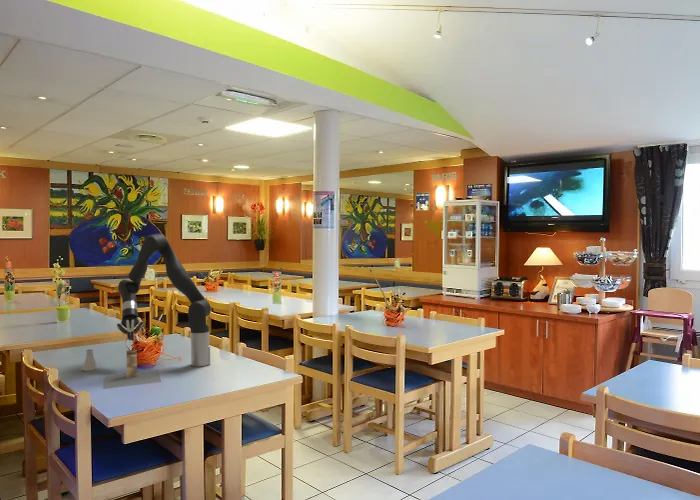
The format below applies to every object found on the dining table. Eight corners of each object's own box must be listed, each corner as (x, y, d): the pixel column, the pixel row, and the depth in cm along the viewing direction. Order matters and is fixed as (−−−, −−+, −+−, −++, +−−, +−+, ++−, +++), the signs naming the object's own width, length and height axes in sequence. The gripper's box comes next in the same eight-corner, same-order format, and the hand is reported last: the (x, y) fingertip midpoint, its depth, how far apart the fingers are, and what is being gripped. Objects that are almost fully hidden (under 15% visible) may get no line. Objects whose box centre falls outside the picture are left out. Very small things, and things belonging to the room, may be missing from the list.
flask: (91, 372, 254) (90, 352, 253) (78, 371, 255) (78, 351, 255) (101, 368, 261) (100, 348, 260) (88, 367, 262) (88, 348, 262)
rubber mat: (157, 370, 255) (157, 369, 255) (161, 382, 235) (161, 381, 235) (104, 376, 245) (104, 375, 245) (103, 389, 225) (103, 388, 225)
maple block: (136, 374, 248) (136, 349, 247) (137, 376, 244) (136, 351, 243) (126, 375, 246) (126, 350, 245) (127, 377, 242) (126, 352, 241)
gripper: (115, 308, 262) (116, 336, 252) (143, 306, 268) (145, 333, 257) (116, 316, 268) (116, 344, 257) (143, 314, 273) (144, 342, 262)
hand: (130, 339), depth 257 cm, fingers closed
